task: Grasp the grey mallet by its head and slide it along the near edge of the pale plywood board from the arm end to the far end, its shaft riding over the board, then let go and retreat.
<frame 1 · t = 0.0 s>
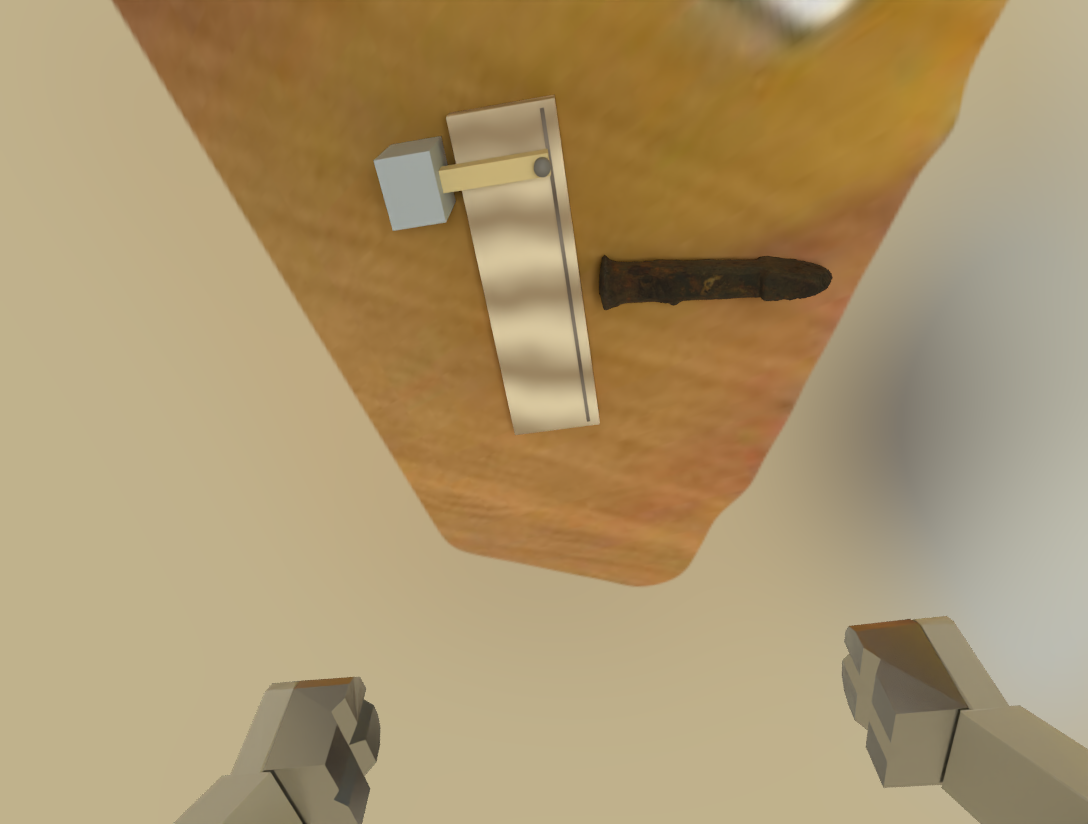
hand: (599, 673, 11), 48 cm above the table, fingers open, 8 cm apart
rusty railroad spike: (709, 264, 58), on the table
grey mallet: (423, 173, 54), on the table
board: (532, 280, 58), on the table
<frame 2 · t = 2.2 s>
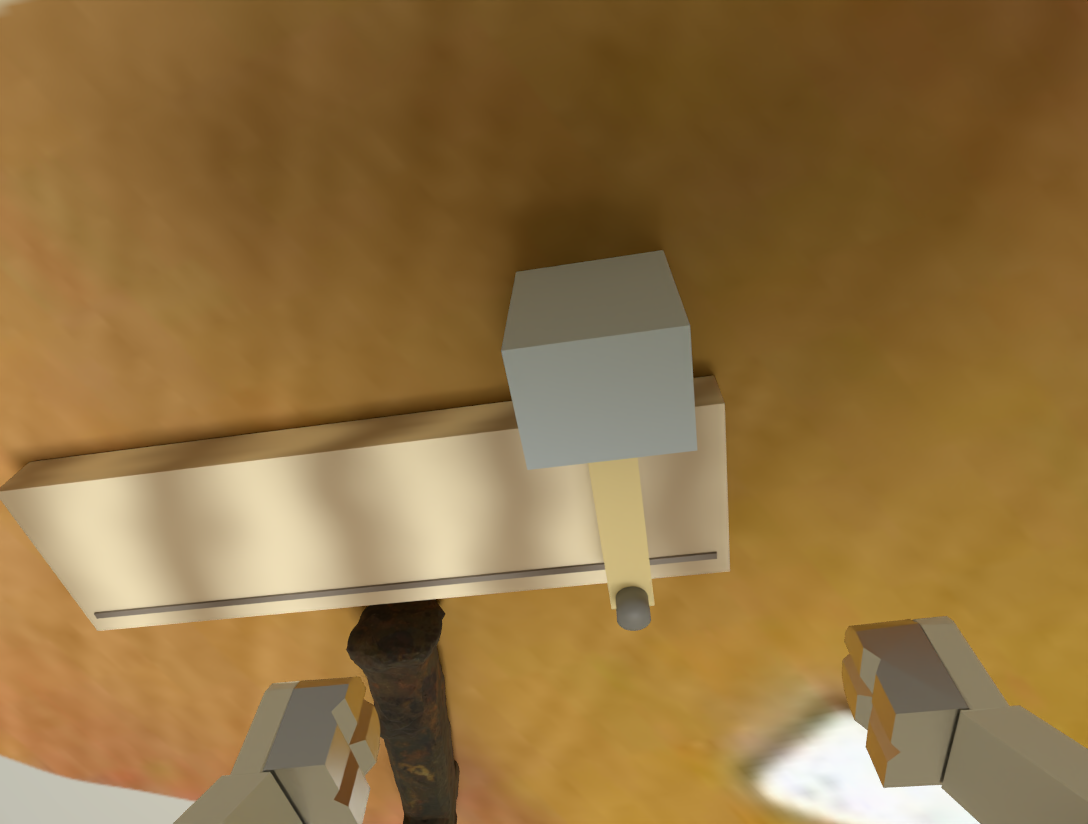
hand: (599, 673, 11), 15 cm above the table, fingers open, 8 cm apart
rusty railroad spike: (439, 711, 37), on the table
grey mallet: (596, 315, 24), on the table
board: (380, 500, 29), on the table
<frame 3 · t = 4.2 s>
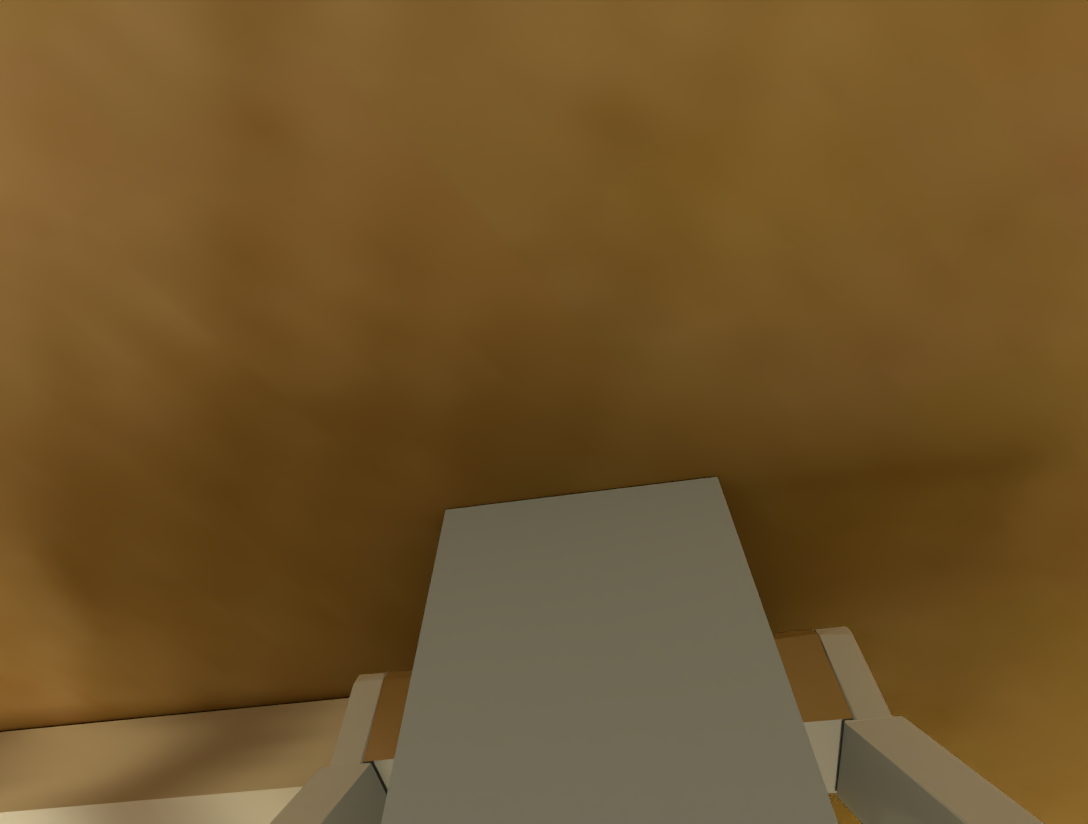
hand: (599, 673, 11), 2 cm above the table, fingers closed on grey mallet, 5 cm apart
grey mallet: (592, 572, 13), on the table, touching gripper
board: (246, 808, 18), on the table
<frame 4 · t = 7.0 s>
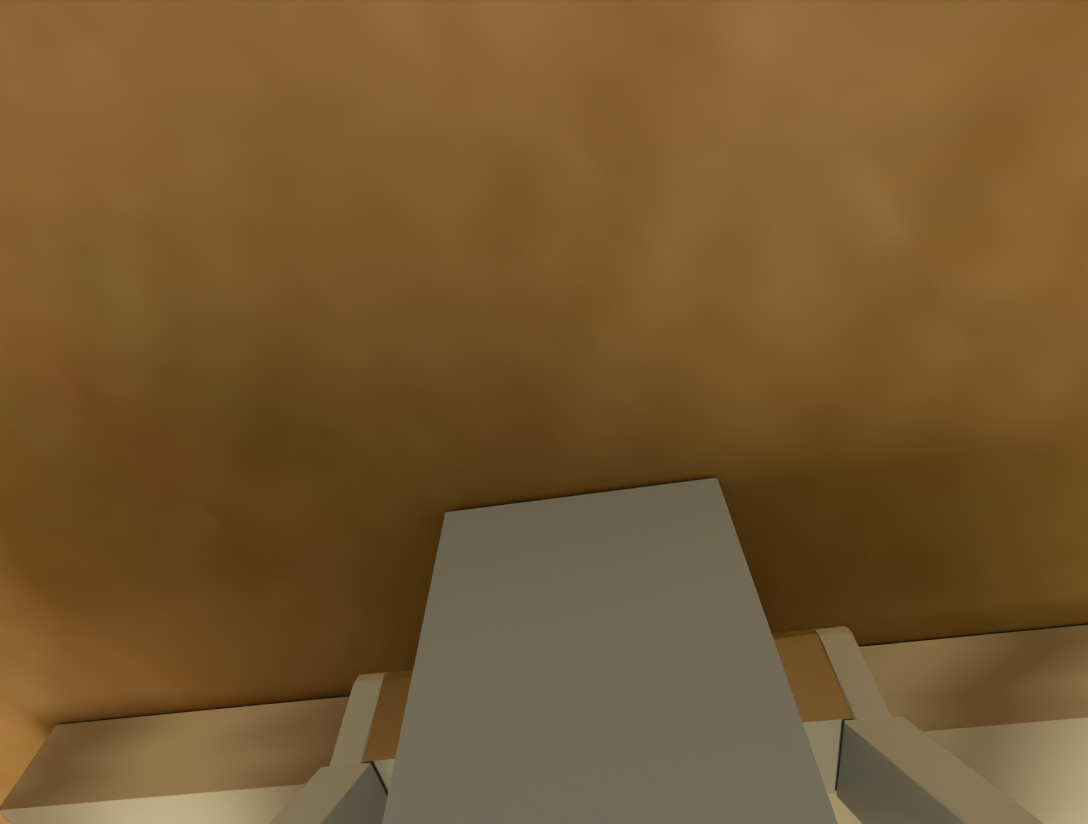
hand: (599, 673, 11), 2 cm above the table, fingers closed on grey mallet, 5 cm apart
grey mallet: (592, 574, 13), on the table, touching gripper
board: (657, 772, 17), on the table
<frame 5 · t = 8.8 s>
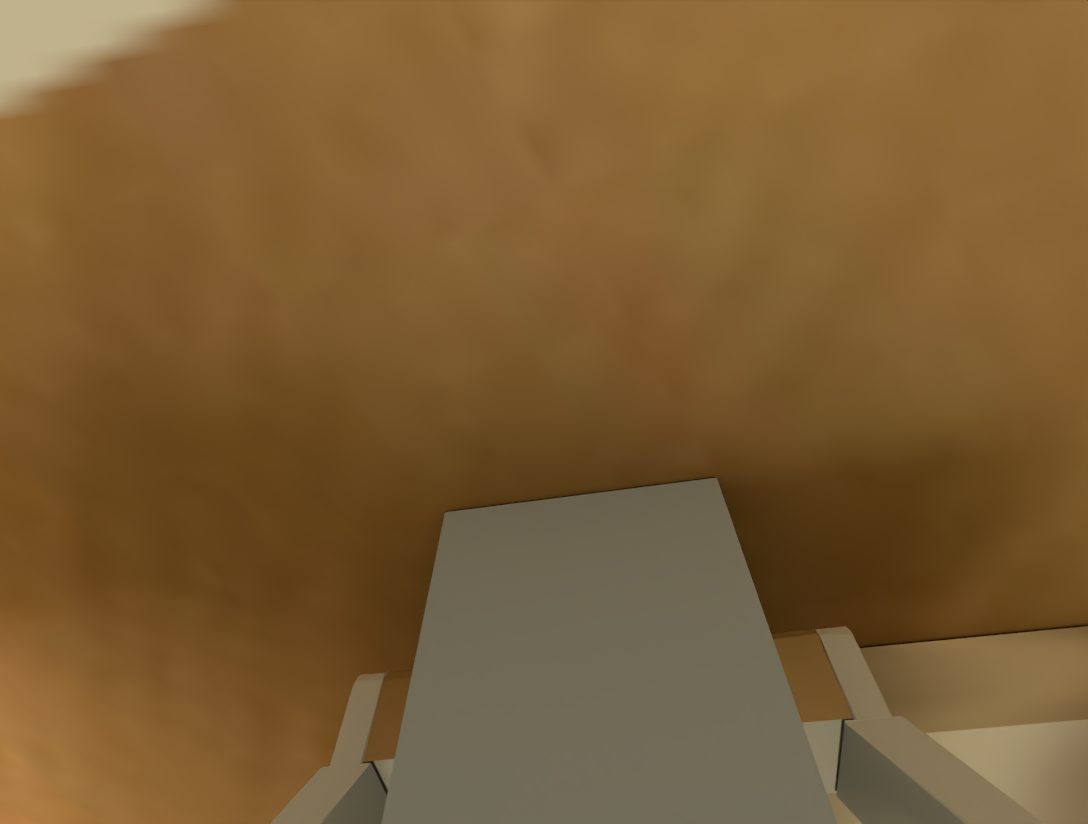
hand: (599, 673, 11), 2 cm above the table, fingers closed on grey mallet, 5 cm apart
grey mallet: (592, 574, 13), on the table, touching gripper
board: (1048, 741, 16), on the table
when the fingers open (2 cm above the table, at t = 9.8 s): grey mallet stays where it is, on the table.
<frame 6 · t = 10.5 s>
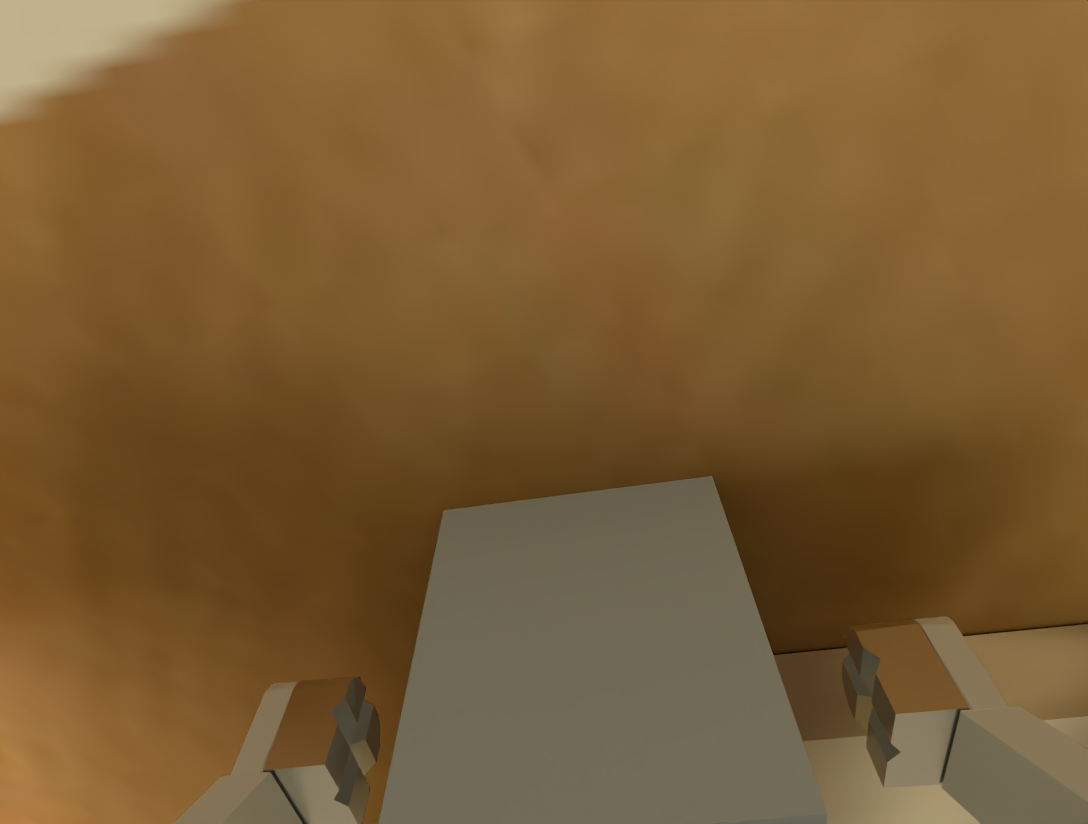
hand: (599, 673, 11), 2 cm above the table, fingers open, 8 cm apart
grey mallet: (589, 571, 14), on the table
board: (1043, 739, 16), on the table
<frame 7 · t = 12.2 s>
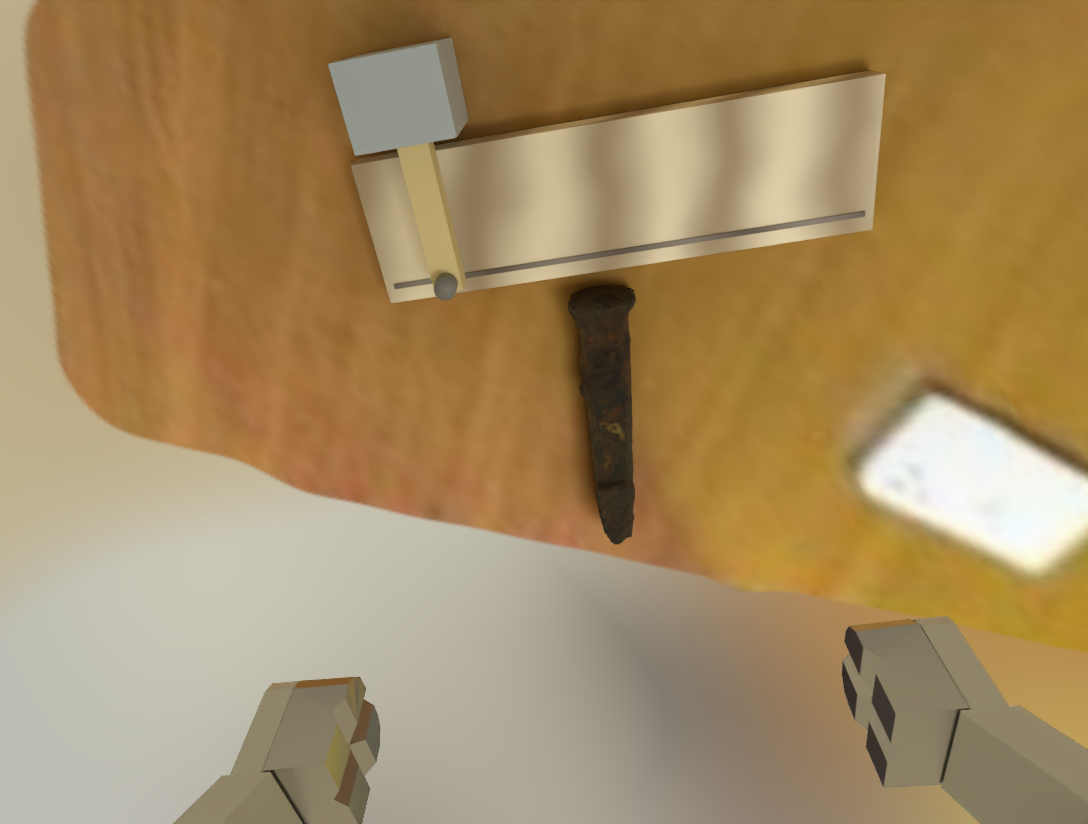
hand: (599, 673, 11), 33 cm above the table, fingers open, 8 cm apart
rusty railroad spike: (614, 408, 47), on the table
grey mallet: (415, 87, 37), on the table
board: (614, 189, 39), on the table
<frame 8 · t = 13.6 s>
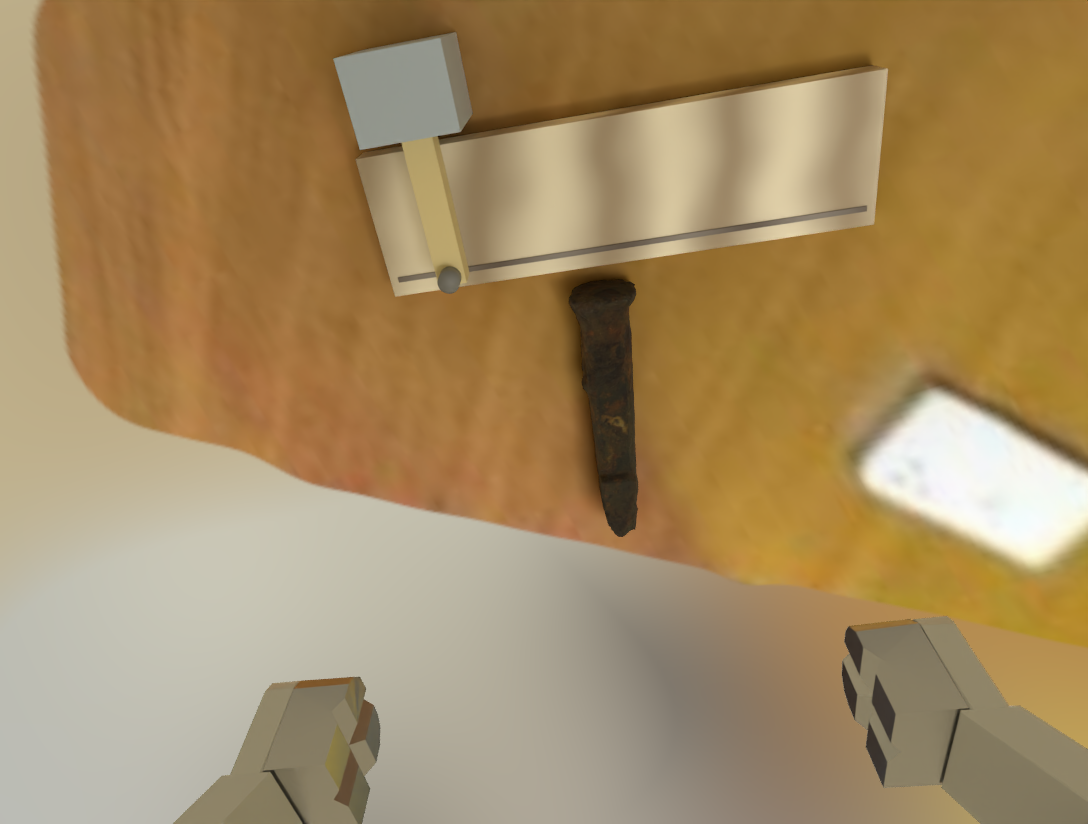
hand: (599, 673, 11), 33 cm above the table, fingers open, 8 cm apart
rusty railroad spike: (617, 401, 48), on the table
grey mallet: (419, 82, 37), on the table
board: (617, 184, 39), on the table
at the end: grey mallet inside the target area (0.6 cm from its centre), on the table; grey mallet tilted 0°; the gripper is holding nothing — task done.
